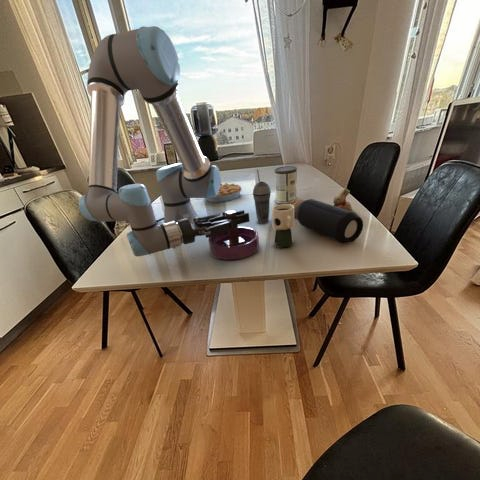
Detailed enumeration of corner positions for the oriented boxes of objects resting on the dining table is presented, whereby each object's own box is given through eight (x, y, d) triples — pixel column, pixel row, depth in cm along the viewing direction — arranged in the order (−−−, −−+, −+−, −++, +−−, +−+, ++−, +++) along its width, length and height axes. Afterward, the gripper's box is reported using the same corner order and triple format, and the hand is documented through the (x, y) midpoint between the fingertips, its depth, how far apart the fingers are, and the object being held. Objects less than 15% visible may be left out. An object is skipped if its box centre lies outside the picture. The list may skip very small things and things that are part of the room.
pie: (197, 196, 160) (195, 187, 157) (232, 188, 166) (231, 179, 163) (210, 206, 144) (209, 195, 141) (248, 196, 150) (248, 186, 146)
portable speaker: (362, 241, 95) (367, 211, 89) (339, 249, 92) (343, 218, 86) (314, 221, 113) (315, 195, 107) (293, 227, 110) (294, 200, 104)
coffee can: (280, 196, 144) (280, 165, 135) (299, 197, 139) (300, 166, 130) (271, 202, 138) (270, 171, 129) (290, 204, 133) (291, 171, 124)
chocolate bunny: (332, 210, 121) (335, 185, 115) (352, 209, 119) (355, 184, 113) (332, 214, 117) (334, 189, 111) (352, 214, 115) (355, 188, 108)
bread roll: (293, 227, 119) (299, 212, 113) (281, 211, 123) (285, 196, 116) (312, 221, 123) (318, 206, 116) (299, 206, 126) (305, 190, 119)
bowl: (201, 255, 99) (198, 242, 96) (230, 237, 109) (228, 224, 106) (240, 265, 90) (238, 250, 87) (268, 244, 101) (267, 230, 97)
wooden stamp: (229, 252, 97) (224, 216, 89) (224, 248, 100) (218, 212, 92) (245, 247, 99) (242, 211, 91) (240, 243, 102) (236, 208, 94)
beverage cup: (270, 224, 115) (269, 170, 102) (253, 225, 117) (249, 172, 104) (272, 218, 120) (271, 166, 108) (255, 219, 122) (252, 167, 110)
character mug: (267, 242, 102) (266, 205, 94) (285, 237, 104) (285, 201, 95) (280, 253, 94) (280, 214, 86) (300, 248, 95) (301, 209, 87)
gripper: (176, 236, 97) (238, 220, 103) (189, 253, 85) (258, 233, 91) (170, 214, 92) (235, 199, 98) (183, 228, 80) (256, 210, 87)
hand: (246, 215), depth 95 cm, fingers closed on wooden stamp, 3 cm apart
